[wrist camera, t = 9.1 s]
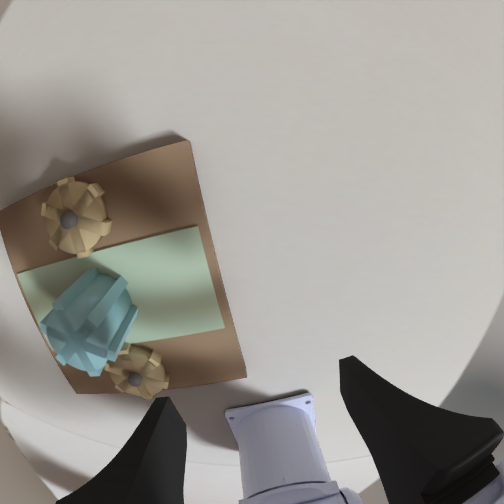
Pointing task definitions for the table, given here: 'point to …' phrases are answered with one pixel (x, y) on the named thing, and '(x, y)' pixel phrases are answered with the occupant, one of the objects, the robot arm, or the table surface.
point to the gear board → (132, 268)
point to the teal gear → (90, 321)
